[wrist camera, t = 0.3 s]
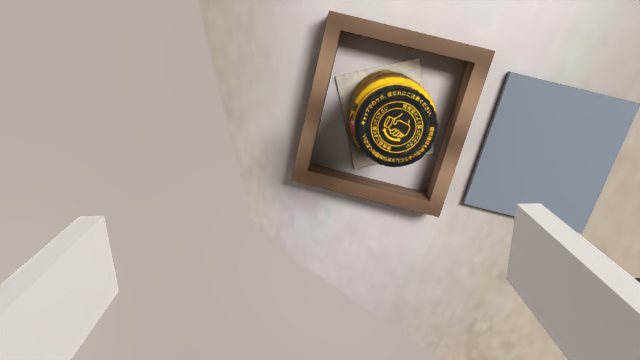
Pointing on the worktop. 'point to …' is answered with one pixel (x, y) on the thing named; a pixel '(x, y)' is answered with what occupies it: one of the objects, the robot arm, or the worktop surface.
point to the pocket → (453, 135)
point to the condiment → (388, 114)
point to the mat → (549, 149)
